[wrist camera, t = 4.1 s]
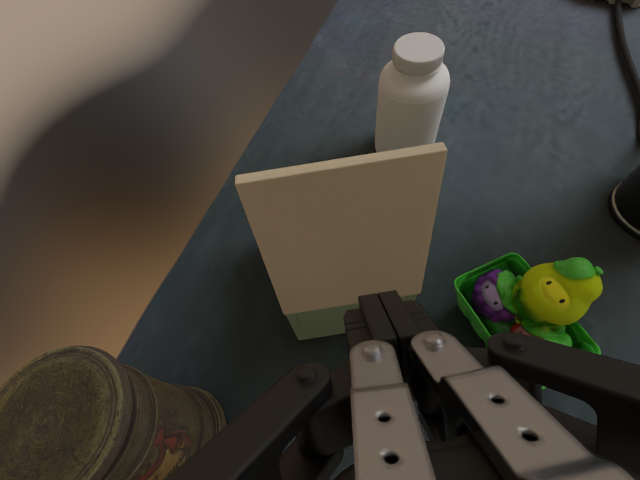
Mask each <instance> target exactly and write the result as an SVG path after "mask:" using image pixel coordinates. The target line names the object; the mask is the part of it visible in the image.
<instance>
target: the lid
mask: <svg viewBox="0 0 640 480" xmlns="http://www.w3.org/2000/svg"><path fill="white" fill-rule="evenodd" d="M446 156H447V148H446V146H445V145H444V143H443V142H440V143H433V144H427V145H421V146H415V147H409V148H402V149H396V150H390V151H384V152H378V153H371V154H365V155H359V156H353V157H347V158H340V159H334V160H328V161H322V162H316V163H309V164H303V165H297V166H291V167H285V168H278V169H272V170H266V171H260V172H254V173H247V174H241V175H236V176H235V186H236V189H237V191H238V194H239V197H240V199H241V202H242V205H243V207H244V210H245V213H246V215H247V218H248V221H249V223H250V226H251V229H252V231H253V234H254V237H255V239H256V242H257V245H258V247H259V250H260V253H261V256H262V258H263V261H264V264H265V266H266V269H267V272H268V274H269V277H270V280H271V282H272V285H273V288H274V290H275V293H276V296H277V298H278V301H279V304H280V306H281V309H282V312H283V314H284V315H287V314H293V313H299V312H306V311H312V310H318V309H325V308H331V307H337V306H344V305H350V304H356V303H358V296H361V295H368V294H374V293H376V294H377V293H380V292H386V291H392V290H396V291H397V293H398V294H399V296H407V295H413V294H419V293H421V290H422V284H423V279H424V274H425V268H426V263H427V258H428V252H429V247H430V241H431V236H432V231H433V225H434V220H435V215H436V209H437V204H438V199H439V193H440V188H441V183H442V177H443V172H444V166H445V161H446Z"/></svg>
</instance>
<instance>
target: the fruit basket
mask: <svg viewBox="0 0 640 480" xmlns="http://www.w3.org/2000/svg"><path fill="white" fill-rule="evenodd" d="M602 274H603V270H602V269H601V268H600V267H593V266H592V264H591V263H590V261H588V260H587V259H585V258H581V257H573V258H569V259H566V260H562V261H555V262H554V263H544V264H540V265H537V266H534V267H532V268H531V267H530V266H529V264H528V263H527V262H526V261H525V260H524V259H523V258H522V257H521V256H520V255H519V254H517V253H508V254H506V255H504V256H502V257H500V258H497V259H495V260H493V261H491V262H488V263H486V264H484V265H482V266H480V267H478V268H476V269H474V270H472V271H469V272H467V273H465V274H463V275H461V276H459V277H457V278H456V279H455V281H454V287H455V291H456V293H457V302H458V307H459V308H460V310H461V311H462V313H463V314H464V315H465V317H467V318H468V319H469V320H470V323H471V326H472V327H473V329H474V330H475V332H476V333H477V334H478V336H479V337H480V338H481V339H482V340H483V341H485V342H484V343H485V345H486V347H487V340H488V338H489V337H490V336H492V335H494V334H497V333H501V332H517V333H522V334H526V335H530V336H533V337H537V338H541V339H544V340H548V341H552V342H555V343H559V344H563V345H566V346H570V347H574V348H577V349H581V350H585V351H588V352H592V353H596V354H599V355H601V351H600V348H599V346H598V345H597V344H596V343H595V341H594V340H593V339H592V338H591V337H590V336H589V334H588V333H587V332H586V331H585V330H584V329H583V327H582V326H581V325H580V324H579V323H578V322H577V321H578V320H579V319H580V318H581V317H582V316H583V315H584V314H585V313H586V312H587V310H588V309H589V307H590V305H591V303H592V302H593V301H594V300H596V299H597V298H598V297H599V296H600V294H601V293H602V289H603V286H602V281H601V278H600V275H602ZM544 388H546V387H544V386H542V389H544Z"/></svg>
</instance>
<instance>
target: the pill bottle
mask: <svg viewBox="0 0 640 480" xmlns="http://www.w3.org/2000/svg"><path fill="white" fill-rule="evenodd" d="M444 52H445V46H444V44H443V42H442V40H441V39H440V38H438V37H437V36H435V35H432V34H429V33H424V32H415V33H409V34H406V35H404V36H402V37H400V38H399V39H398V40H397V41H396V42H395V44H394V46H393V54H392V60H391V61H390V62H388V63H387V64H386V66H385V67H384V68H383V70H382V72H381V75H380V78H379V89H378V103H377V117H376V131H375V150H376V153H378V152H384V151H390V150H396V149H402V148H409V147H415V146H421V145H427V144H433V143H435V139H436V135H437V132H438V128H439V124H440V120H441V116H442V113H443V109H444V105H445V101H446V98H447V94H448V90H449V86H450V76H449V72H448V69H447V68H446V66H445V65H444V64H443V63H442V61H443V56H444Z"/></svg>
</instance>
